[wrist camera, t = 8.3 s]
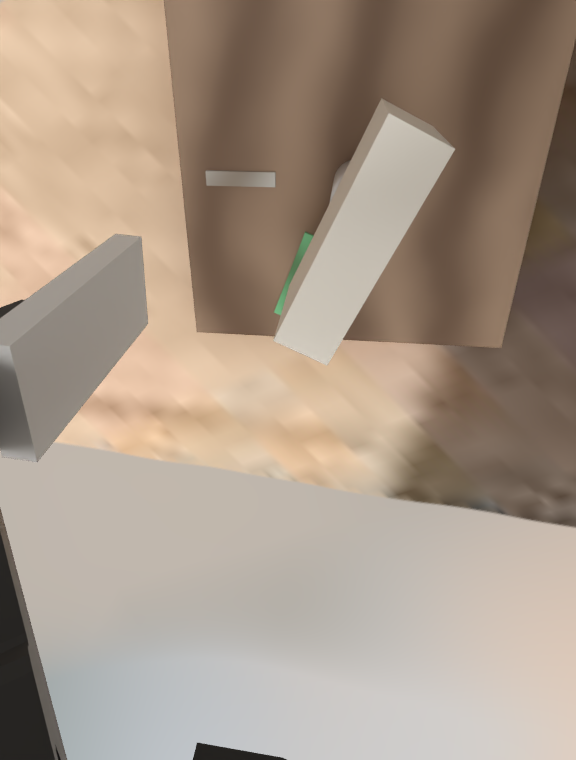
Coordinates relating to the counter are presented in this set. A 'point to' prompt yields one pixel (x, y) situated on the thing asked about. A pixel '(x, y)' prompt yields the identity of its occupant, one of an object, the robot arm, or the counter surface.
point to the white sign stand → (361, 229)
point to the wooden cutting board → (341, 138)
